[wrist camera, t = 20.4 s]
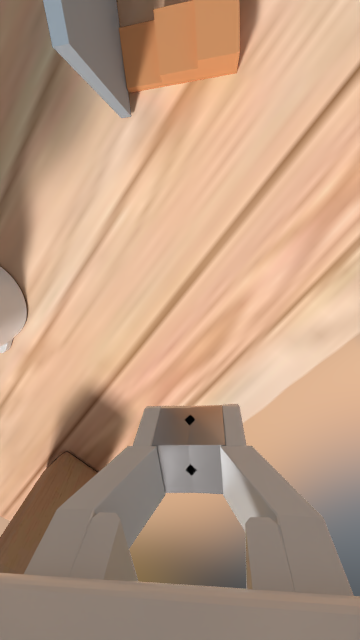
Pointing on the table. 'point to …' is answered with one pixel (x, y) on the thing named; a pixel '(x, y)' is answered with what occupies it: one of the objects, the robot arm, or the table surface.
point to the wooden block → (40, 511)
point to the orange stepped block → (182, 44)
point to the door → (91, 46)
